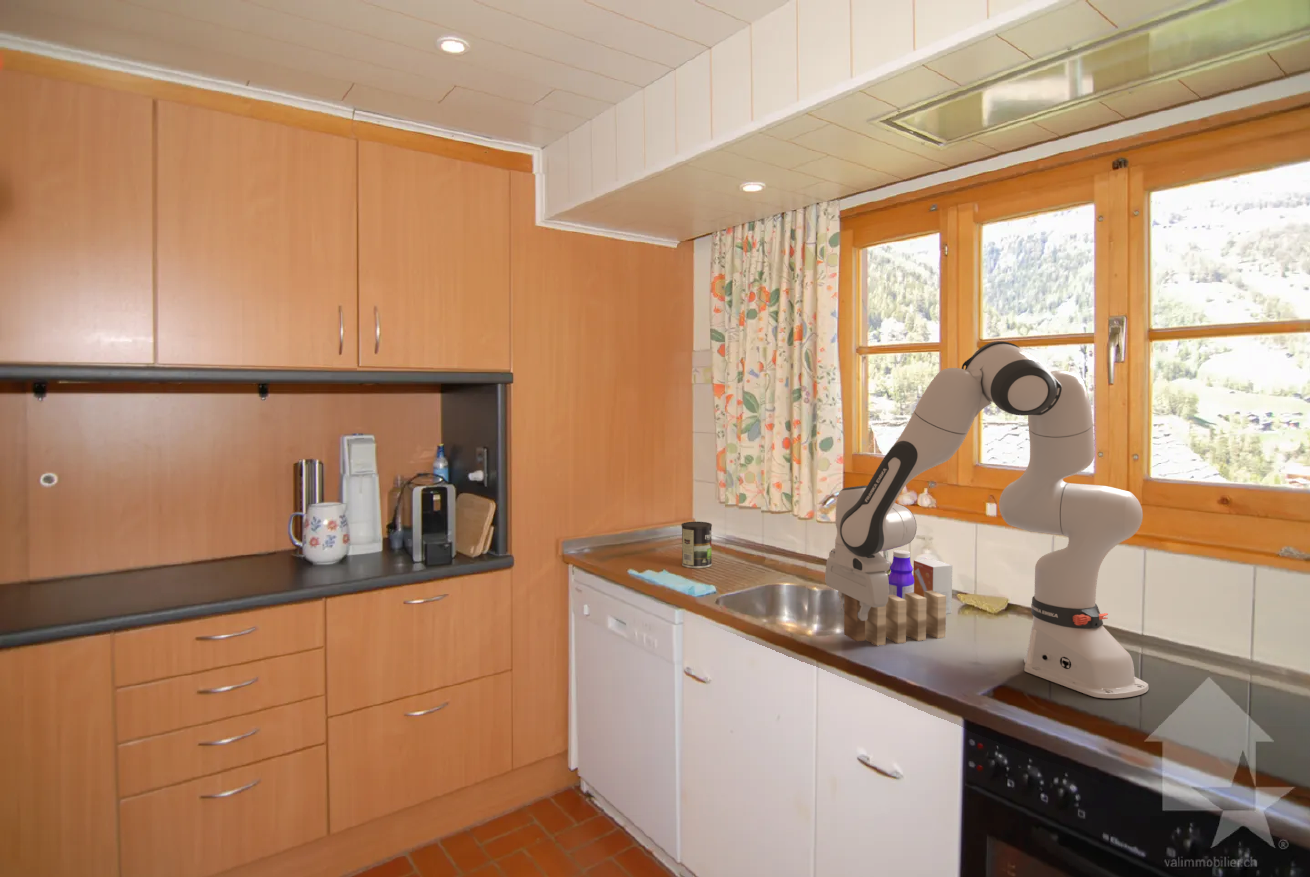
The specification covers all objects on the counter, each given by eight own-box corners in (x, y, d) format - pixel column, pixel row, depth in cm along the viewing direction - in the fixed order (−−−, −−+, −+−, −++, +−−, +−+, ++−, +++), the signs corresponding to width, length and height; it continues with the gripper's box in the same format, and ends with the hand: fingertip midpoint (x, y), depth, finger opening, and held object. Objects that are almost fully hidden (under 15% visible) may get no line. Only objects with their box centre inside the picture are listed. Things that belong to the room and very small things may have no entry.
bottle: (896, 612, 183) (897, 547, 182) (917, 617, 179) (918, 550, 178) (883, 618, 178) (884, 552, 177) (904, 623, 174) (905, 555, 173)
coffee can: (715, 562, 240) (715, 522, 239) (707, 569, 230) (707, 527, 229) (686, 560, 243) (686, 520, 242) (677, 567, 233) (677, 525, 233)
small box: (911, 607, 188) (912, 559, 187) (931, 604, 190) (932, 557, 189) (932, 616, 180) (933, 566, 180) (952, 613, 182) (953, 564, 181)
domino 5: (945, 637, 164) (946, 596, 164) (937, 638, 164) (938, 597, 163) (931, 630, 169) (931, 590, 169) (923, 631, 169) (924, 591, 168)
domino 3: (905, 642, 161) (906, 600, 161) (897, 643, 161) (898, 601, 160) (892, 635, 166) (893, 594, 165) (884, 636, 165) (885, 595, 165)
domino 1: (865, 640, 157) (865, 596, 157) (856, 641, 157) (856, 597, 156) (852, 633, 162) (852, 591, 162) (844, 634, 161) (844, 592, 161)
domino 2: (885, 645, 160) (886, 602, 159) (877, 646, 159) (877, 603, 158) (872, 638, 164) (873, 596, 164) (864, 639, 164) (865, 597, 163)
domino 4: (925, 640, 163) (926, 598, 162) (917, 641, 162) (918, 599, 162) (912, 633, 168) (912, 592, 167) (904, 634, 167) (904, 593, 166)
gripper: (818, 547, 167) (818, 604, 168) (869, 567, 148) (868, 630, 149) (841, 545, 169) (840, 601, 170) (894, 564, 150) (893, 627, 150)
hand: (854, 615), depth 159 cm, fingers closed on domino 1, 5 cm apart
